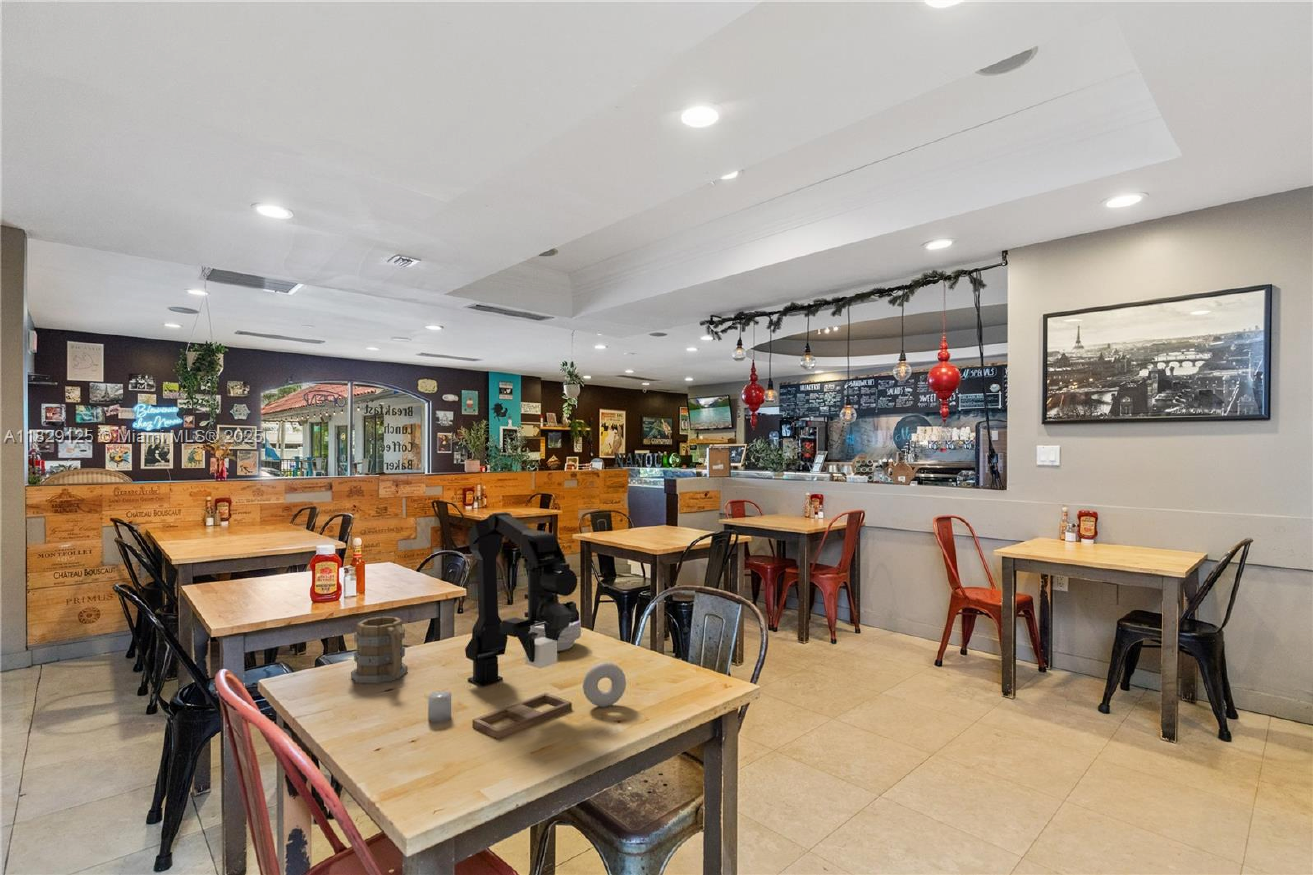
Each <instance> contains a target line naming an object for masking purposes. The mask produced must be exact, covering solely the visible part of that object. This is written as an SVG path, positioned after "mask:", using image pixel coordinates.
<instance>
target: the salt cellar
mask: <svg viewBox="0 0 1313 875" xmlns="http://www.w3.org/2000/svg"><path fill="white" fill-rule="evenodd" d="M427 700H428V702H427V704H428V705H427V707H428V712H427V713H428V714H427V715H428V716H427V720H428V721H429V722H430V723H435V724H436V723H442V722H443V723H444V722H446V721H449V720H451V718H452V692H451V691H448V690H441V691H435V692H431V693H430V694H429V695H428V697H427Z"/></svg>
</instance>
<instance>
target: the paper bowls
mask: <svg viewBox="0 0 1313 875" xmlns="http://www.w3.org/2000/svg"><path fill="white" fill-rule="evenodd" d="M535 622H538V621H535ZM534 632H535V633H538V635H537V636H536V638H535V639H537V638H541V637H545V629H544V624H543V625H539V626H535V627H534ZM581 635H582V620H581V618H579V621H576V622H572V623H570V624H569V626H568V627H566V628H565V629H564V630H563V631H562V632H561V634H560V636H559V638H558V641H557V652H562V651H567V650H569V649H571V648H572V647H573V646H574V643H575V641H576V640H577V639H580V638H581V637H582V636H581ZM545 638H546V637H545Z"/></svg>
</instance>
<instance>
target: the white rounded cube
mask: <svg viewBox="0 0 1313 875" xmlns="http://www.w3.org/2000/svg"><path fill="white" fill-rule="evenodd" d="M555 664H558V651H557V641H556V640H552V639H549V638H545V637H541V638H537V639H535V657H534V662H530V661H529V659H528V657H527V654H526V653H525V665H528V666H530V667H533V668H537V669H543V668H546V667H549V666H551V665H555Z"/></svg>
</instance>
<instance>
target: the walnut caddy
mask: <svg viewBox="0 0 1313 875" xmlns="http://www.w3.org/2000/svg"><path fill="white" fill-rule="evenodd" d="M545 702H546V703H548V704H550V705H554V706H553V707H551V708H548V709H546V710H543V711H539V710H537V709H534V708H533V707H535V706H538V705H540V704H543V703H545ZM572 706H573V704H572V701H569V700H566V699H564V698H562V697H558V696H555V695H553V694H550V693H548V692H545V693H542V694H539V695H536V696H534V697H533V696H532V697H531V698H528V699H526V700H525V699H524V700H523V701H520V702H517V703H514V704H512V705H509V706H506V707H504V708H501V709H498V710H495V711H492V712H490V713H486V714H483V715H481V716H479V717H476V718H473V719H472V728H475V729H477V730H478V731H481V732H482V733H485V734H487V735H489V736H491V737H493V738H494V739H497V740H498V739H502V738H504V737H506V736H508V735H509V736H510V735H512V734H514V733H516V732H519V731H521V730H524V729H526V728H529V727H531V726H534V725H537V724H538V723H542V722H543V721H546V720H549V719H551V718H553V717H556V716H558V715H561V714H563V713H566V712H568V711H571V710H572V709H573V707H572ZM505 717H507V718H509V719H511V720H514V721H515V722H512V723H509V724H507V725H505V726H503V727H500V728H499V727H496V726H494V725H492V724H491V723H492V722H495V721H497V720H501V719H502V718H505Z"/></svg>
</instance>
